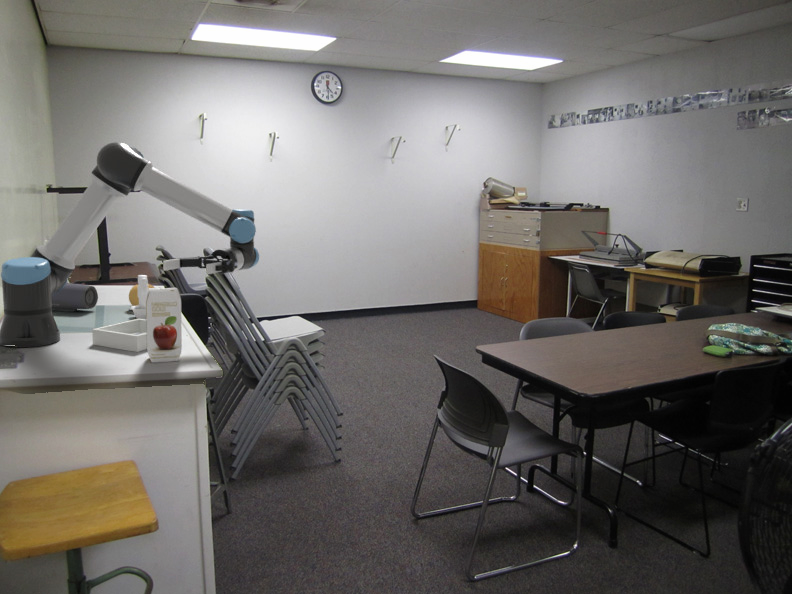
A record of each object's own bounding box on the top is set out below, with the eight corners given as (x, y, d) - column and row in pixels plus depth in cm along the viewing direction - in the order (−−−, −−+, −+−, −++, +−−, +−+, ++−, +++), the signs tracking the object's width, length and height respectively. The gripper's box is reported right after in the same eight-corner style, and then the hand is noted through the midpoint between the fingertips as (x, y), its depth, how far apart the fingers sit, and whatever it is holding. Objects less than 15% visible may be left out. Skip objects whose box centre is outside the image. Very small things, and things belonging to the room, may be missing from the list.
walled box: (137, 352, 166) (136, 336, 166) (92, 344, 172) (92, 329, 171) (181, 338, 183) (181, 324, 182) (139, 332, 188) (139, 318, 188)
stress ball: (157, 311, 221) (157, 284, 219) (128, 312, 217) (127, 285, 215) (157, 306, 230) (157, 280, 228) (129, 307, 226) (128, 281, 225)
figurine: (152, 314, 216) (151, 273, 213) (156, 319, 208) (155, 276, 205) (130, 315, 212) (129, 273, 210) (133, 320, 204) (132, 277, 202)
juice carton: (146, 356, 162) (145, 287, 159) (179, 354, 166) (179, 286, 163) (147, 364, 156) (146, 291, 152) (182, 361, 159) (182, 291, 156)
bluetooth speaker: (99, 309, 219) (98, 282, 218) (84, 314, 210) (83, 286, 209) (41, 305, 222) (39, 278, 220) (23, 310, 212) (21, 282, 211)
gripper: (262, 275, 184) (226, 284, 164) (191, 269, 190) (147, 277, 170) (262, 251, 183) (226, 257, 163) (190, 246, 189) (146, 250, 169)
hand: (185, 267), depth 166 cm, fingers open, 13 cm apart
